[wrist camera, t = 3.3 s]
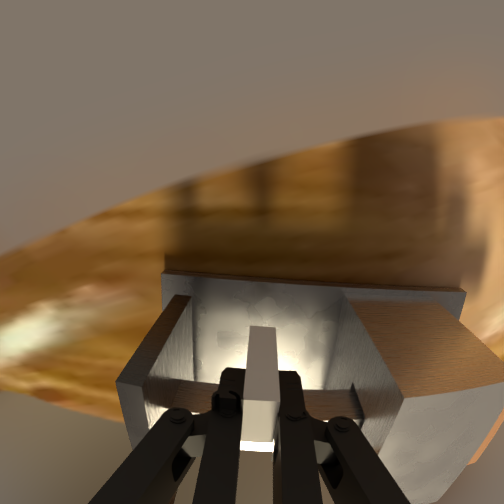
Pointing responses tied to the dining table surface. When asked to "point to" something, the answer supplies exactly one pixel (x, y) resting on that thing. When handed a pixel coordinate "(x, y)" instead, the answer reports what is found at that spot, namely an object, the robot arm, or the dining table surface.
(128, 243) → the dining table surface
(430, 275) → the dining table surface
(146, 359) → the grey crossbar bracket
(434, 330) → the block
